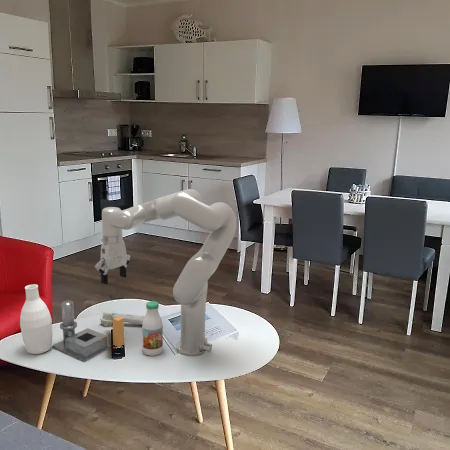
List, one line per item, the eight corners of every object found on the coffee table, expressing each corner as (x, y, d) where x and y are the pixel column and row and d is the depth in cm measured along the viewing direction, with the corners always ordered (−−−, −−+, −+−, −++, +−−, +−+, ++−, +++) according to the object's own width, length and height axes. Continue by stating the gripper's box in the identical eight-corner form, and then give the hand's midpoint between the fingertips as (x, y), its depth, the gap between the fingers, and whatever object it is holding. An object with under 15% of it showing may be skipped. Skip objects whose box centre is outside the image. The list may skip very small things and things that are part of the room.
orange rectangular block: (124, 346, 180) (123, 318, 177) (118, 349, 177) (118, 320, 175) (118, 344, 181) (118, 316, 179) (113, 347, 179) (112, 318, 176)
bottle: (17, 353, 172) (7, 290, 166) (37, 339, 182) (29, 279, 176) (41, 357, 169) (33, 293, 163) (61, 343, 179) (53, 282, 173)
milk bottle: (138, 351, 177) (137, 302, 172) (154, 344, 182) (154, 297, 177) (150, 358, 172) (150, 309, 167) (166, 351, 177) (166, 303, 172)
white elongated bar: (158, 321, 194) (99, 311, 194) (155, 335, 196) (98, 325, 196) (160, 315, 199) (103, 306, 199) (158, 329, 201) (101, 319, 201)
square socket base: (110, 347, 178) (109, 307, 174) (84, 362, 168) (82, 319, 164) (77, 334, 188) (75, 295, 184) (50, 346, 178) (47, 306, 174)
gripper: (101, 245, 170) (103, 288, 174) (135, 236, 184) (136, 276, 188) (88, 241, 174) (90, 284, 178) (122, 233, 188) (123, 272, 192)
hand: (114, 280), depth 183 cm, fingers open, 9 cm apart
